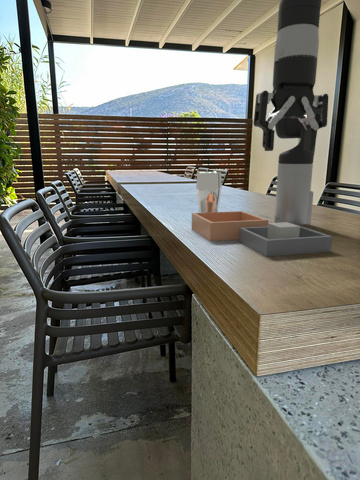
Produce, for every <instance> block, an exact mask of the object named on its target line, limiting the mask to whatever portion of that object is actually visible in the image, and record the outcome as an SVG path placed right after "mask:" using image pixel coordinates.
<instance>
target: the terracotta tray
mask: <svg viewBox="0 0 360 480" xmlns="http://www.w3.org/2000/svg"><path fill="white" fill-rule="evenodd" d="M268 223H269V219H266V218H263V217H260V216H257V215H255V214H252V213H249V212H246V211H243V210H234V211H232V210H231V211H218V212H207V213H199V212H192V213H191V231H194V232H196V233H197V234H199V235H200V236H202V237H203V238H204V239H206V240H207V241H209V242H214V241H215V242H217V241H232V240H233V241H234V240H239V228H247V227H265V226H268Z"/></svg>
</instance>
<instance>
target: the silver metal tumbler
mask: <svg viewBox="0 0 360 480" xmlns="http://www.w3.org/2000/svg"><path fill="white" fill-rule="evenodd" d="M196 176H197V177H196V189H195V190H196V191H195V192H196V198H197V206H198V213H207V212H219V206H220V203H221V197H222V185H223V184H222V172H221V171H197V173H196Z"/></svg>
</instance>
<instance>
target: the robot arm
mask: <svg viewBox="0 0 360 480" xmlns="http://www.w3.org/2000/svg"><path fill="white" fill-rule="evenodd" d="M321 6H322V0H280V1H279V4H278V17H277V19H278V20H277V32H276V40H275V46H274V57H273V58H274V59H273V60H274V61H273V70H272V71H273V75H272V77H273V78H272V92H269V91H268V90H262V91H260V92H258V93H256V95H255V106H254V114H253V126H254V127H256V128H257V127H258V128H260V129H261V130H262V143H261V145H262V148H263V149H264V152H272V151H274V147H275V146H274V144H275V134H276V136H277V137H278V138H279V139H281V140H282V139H283V140H285V139H300V140H299V143H298V144H297V145H296V146H294V147H292V148H290V149H288V150H285V151H283V152H280V153H279V155H278V164H277V177H276V189H275V190H276V191H275V192H276V193H275V203H274V204H275V207H274V217H273V218H274V222H273V223H282V222H288V223H291V224H294V225H298V226H299V225H308V226H309V225H310V226H311V225H312V224H311V222H312V213H313V203H314V191H312V189H311V188H312V180H313V179H312V177H313V167H314V157H315V151H316V144H317V143H316V142H317V136H318V130H320V129H323V128H325V127H327V125H328V117H329V116H328V113H329V94H328V93H323V94H319V95H317V94H316V95H315V94H314V86H315V84H316V77H317V69H318V68H317V66H318V56H319V44H320V39H319V38H320V37H319V34H320V33H319V30H320V16H321V8H322V7H321ZM270 102H271V104H272V105H273V109H272V110H271V111H270V112H269V114H268V115H267V112H268V111H267V110H268V105H269V104H270Z"/></svg>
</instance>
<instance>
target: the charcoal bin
mask: <svg viewBox="0 0 360 480" xmlns="http://www.w3.org/2000/svg"><path fill="white" fill-rule="evenodd" d="M299 226H300V232H299V238H283V239H267V236H268V226H265V227H247V228H239V239H238V242H239V243H241V244H243V246H244V245H245V246H246V247H248V248H250V249H251V250H253V251H255V252H257V253H258V254H260V255H262V256H264V257H279V256H293V255H294V256H295V255H304V254H317V253H330V252H332V243H333V236H332V235H328V234H326V233H323V232H320V231H317V230H313V229H310V228H307V227H304V226H301V225H299Z"/></svg>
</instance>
